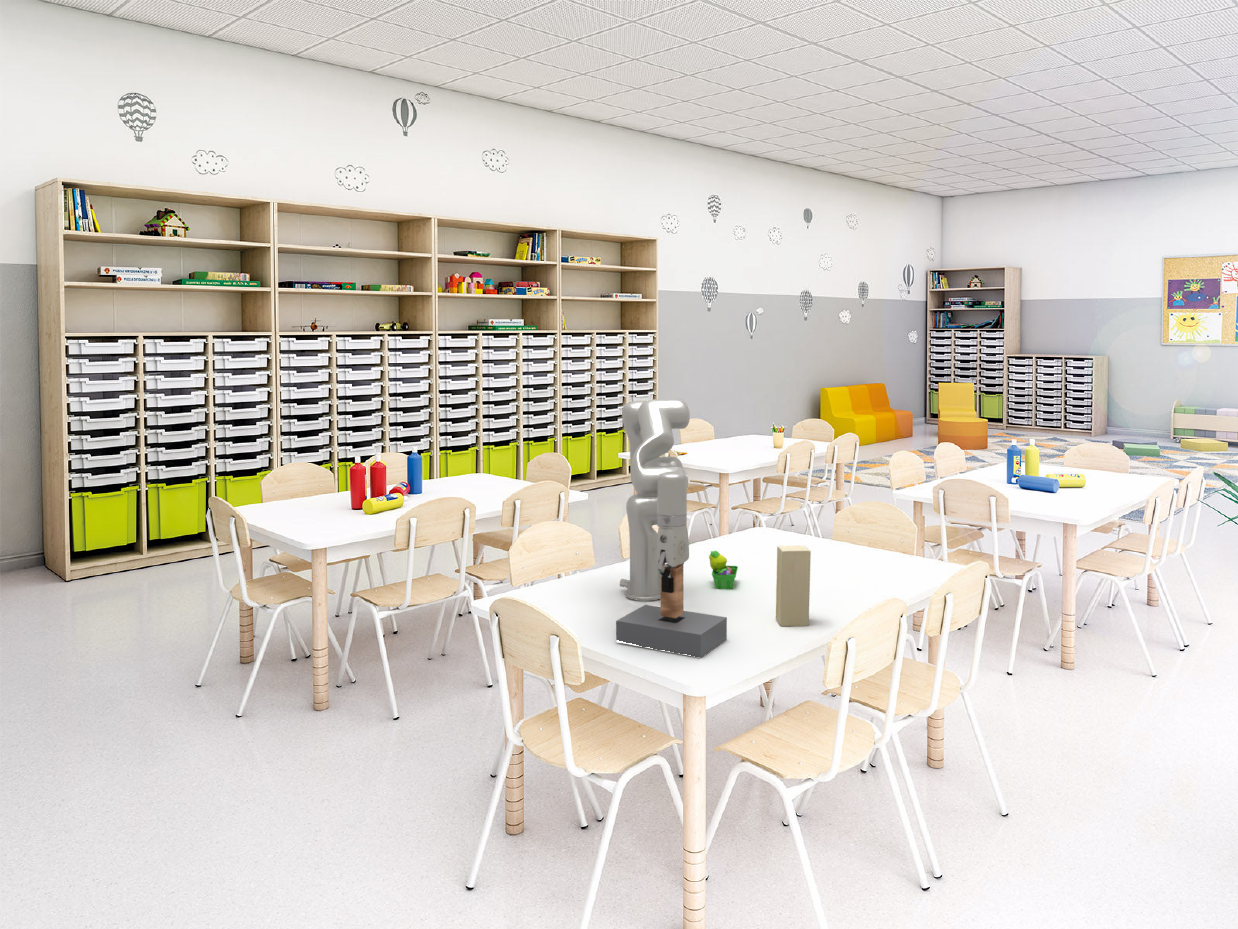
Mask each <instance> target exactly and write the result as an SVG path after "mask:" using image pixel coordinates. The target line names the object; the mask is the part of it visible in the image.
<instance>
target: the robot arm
mask: <svg viewBox="0 0 1238 929" xmlns="http://www.w3.org/2000/svg"><path fill="white" fill-rule="evenodd" d="M621 419H622V424H623V427H624V430H625V433H626V435H627V438H628V442H629V460H630V462H629V464H630V466H629V467H630V468H629V469H630V481H631V484H632V486H633V488H634V490H635V492H636V494H633V495H631V496H630V497H628V499H627V500H626V508H625V509H626V515H627V522H628V531H629V533H628V534H629V579H626V578H621V579H620V580H619V587H622V588H626V590H625V592H624V596H625V597H626V596H627V597H628V598H627V597H626V598H627V599H629V598H630V599H629V600H632V599H637V600H636V601H638V600H654V601H658V600H657V599H659V600H661V590H662V592H667V593H673V592H674V578H673V577H672V572H673V567H676V566H678V565H683V566H684V564H685V563H686V562H687V561H688V560H689V559H690V544H689V543H690V542H689V531H688V525H687V524H688V522H687V521H688V514H687V513H688V509H687V508H688V504H687V502H688V498H687V496H688V493H687V492H688V491H687V490H688V486H689V475H688V473H687V472H686V471H685V469H684V467H683V464H682V461H681V460H680V458H677V457H675V456H663V455H665V454H667V453H668V452H669V451H671V449H672V448H673V447H674V443H675V439H674V434H673V429H676V430H679V429H680V430H682V429H683V430H684V429H686V428H687V427H688V426H689V425H690V424H689V423H690V419H691V414H690V408H689V406H688V404H687V402H686V401H685V400H684V399H680V398H658V399H657V398H655V399H654V398H653V399H648V400H647V399H646V400H634V401H628V402H627V403H625V404H624V405H623V407H622V410H621ZM653 526H657V528H658V529H657V530H658V531H656V530H655V528H654V527H653ZM667 563H668V565H665V564H667ZM665 567H666V568H669V571H668V570H667V569H665ZM660 573H661V588H660Z"/></svg>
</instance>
